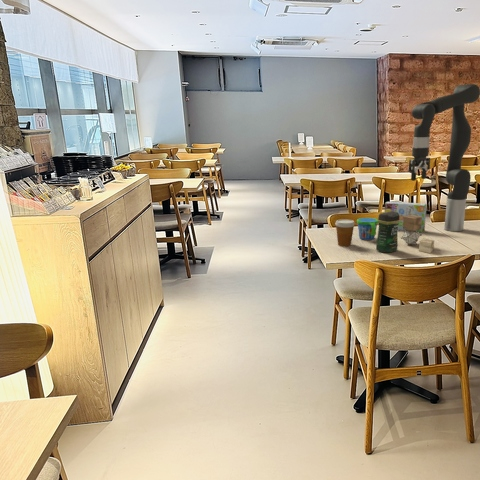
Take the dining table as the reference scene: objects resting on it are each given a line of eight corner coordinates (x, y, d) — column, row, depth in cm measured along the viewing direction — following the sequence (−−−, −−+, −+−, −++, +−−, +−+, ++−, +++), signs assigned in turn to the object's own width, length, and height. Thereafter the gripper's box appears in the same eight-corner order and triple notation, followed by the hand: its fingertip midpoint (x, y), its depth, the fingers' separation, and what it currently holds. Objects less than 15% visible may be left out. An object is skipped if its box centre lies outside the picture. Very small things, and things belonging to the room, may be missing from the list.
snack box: (424, 230, 238) (427, 203, 234) (422, 232, 234) (425, 205, 230) (385, 226, 249) (386, 201, 245) (382, 228, 245) (384, 202, 241)
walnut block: (410, 226, 215) (411, 214, 213) (421, 228, 210) (422, 216, 209) (402, 228, 212) (403, 216, 210) (413, 230, 207) (414, 218, 205)
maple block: (422, 248, 205) (423, 238, 204) (433, 250, 202) (434, 240, 201) (418, 251, 202) (419, 241, 201) (430, 253, 199) (430, 242, 197)
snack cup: (352, 235, 233) (353, 216, 231) (371, 234, 234) (372, 216, 231) (361, 243, 218) (362, 223, 216) (382, 242, 219) (383, 222, 216)
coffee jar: (387, 254, 199) (389, 214, 194) (373, 250, 205) (375, 212, 200) (400, 250, 204) (403, 211, 199) (386, 246, 210) (388, 209, 205)
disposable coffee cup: (330, 243, 219) (331, 220, 216) (346, 241, 223) (347, 218, 219) (342, 248, 211) (342, 224, 207) (358, 245, 214) (359, 221, 211)
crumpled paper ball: (413, 252, 213) (423, 239, 205) (397, 246, 213) (406, 233, 206) (415, 239, 218) (424, 226, 211) (398, 233, 219) (408, 220, 211)
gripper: (422, 145, 219) (420, 177, 223) (405, 147, 211) (403, 180, 216) (436, 145, 213) (433, 178, 217) (419, 147, 205) (416, 181, 210)
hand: (418, 179), depth 216 cm, fingers open, 8 cm apart
